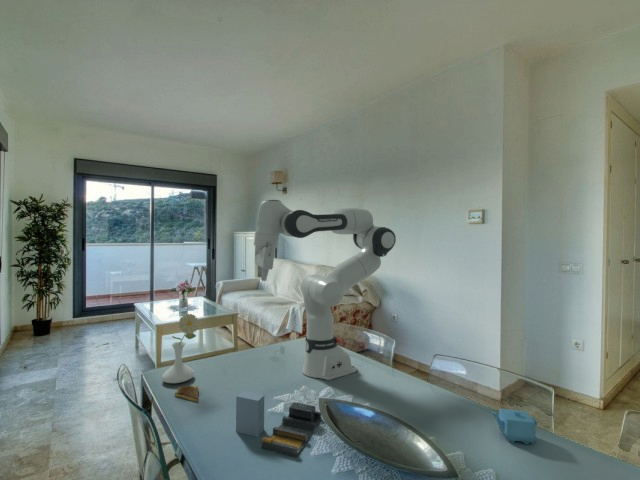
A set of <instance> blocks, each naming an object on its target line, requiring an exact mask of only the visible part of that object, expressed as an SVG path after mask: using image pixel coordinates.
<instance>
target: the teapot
mask: <svg viewBox="0 0 640 480" xmlns="http://www.w3.org/2000/svg"><path fill="white" fill-rule="evenodd" d="M490 413H491V414H493V416H494V417H495V420H496V424H497V425H498V428H499V430H500V431H501V433H502V435H503V436H504V438H505V440H507V441H508V442H510V443H512V444H514V443H515V442H522V443H523V444H524V445H530V443H533V444H536V427H537V426H538V422H537V419H535V418H534V417H533V416H531V415H530V414H529V413H528V412H527V411H525V410H520V409H519V410H518V409H517V410H516V409H509V408H499V409H498V413H499V414H498V413H497V412H495V411H490Z"/></svg>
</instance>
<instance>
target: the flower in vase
mask: <svg viewBox="0 0 640 480" xmlns="http://www.w3.org/2000/svg"><path fill="white" fill-rule="evenodd" d="M179 318H180V319H179V322H178V328H179V329H180V330H181V332H182V333H184V335H183V336H182V338H181V337H175V336H174V335H172V336H171V337H172V338H173V339H175V340H180V341H176V342H173V343H171V346H172V348H173V349H174V356H175V357H174V358H175V359H174V363H173V365H171V366H170V367H169V368H168V369H167V370H166V371H165V372H164V373H163V374H162V376H161V379H162V381H163V382H165V383H167V384H180V383H184V382H186V381H189V380H190V379H191V380H192V378H193V377H194V375H195V371H194V370H193V368H191V367H190V366H189V365H186V364H185V363H184V362H183V361H182V360H183V359H182V358H183V357H182V356H183V349H184V347H185V345H186V344H187V342H185V341H183V340H184V338H185V337H186V339H188V340H191V339H192V340H193V339H194V338H196V337H197V335H196V334H195V333H194V332H197V331H198V330H199V327H200V321H199V319H198V317H197V316H196V315H195V314H192V313H185V314H183V316H181V317H179Z"/></svg>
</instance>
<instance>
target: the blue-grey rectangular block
mask: <svg viewBox="0 0 640 480" xmlns="http://www.w3.org/2000/svg"><path fill="white" fill-rule="evenodd" d="M235 398H236V399H235V400H236V402H235V403H236V404H235V406H236V408H235V410H236V411H235V432H238V433H242V434H245V435H249V436H253V437H259V436H260V435H261V434H262V433H263V432H264V430H265V394H262V393H256V392H250V391H245V390H242V391H241V392H240V393H239V394H238V395H236V397H235Z"/></svg>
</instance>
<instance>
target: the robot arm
mask: <svg viewBox="0 0 640 480" xmlns="http://www.w3.org/2000/svg"><path fill="white" fill-rule="evenodd" d="M256 226H257V227H256V229H255V233H254V241H253V246H255V251H254V263H255V265H257V274H256V275H257V277H258V278H260V280H261V281H262V282H266V281H267V279H268V274H269V270H273V268H274V261H275V249H278V245H279V236H280V234H281V235H283V236H285V237H290V238H292V237H294V238H297V239H304V238H306V237H308V236H310V235H312V234H313V233H318V232H328V231H331V232H332V233H333V234H336V235H352V239H353V243H354V245H355V246H356V247H358V249H360V251H359V252H358V253H357V254H355V255H353V256H351V257H349V258H347V259H345V260H343V261H342V262H340V263H338V264H336V266H335V268H334V269H333V270H332V271H331V272H330V273H328V274H327V275H319V274H310V275H306V276H305V277H304V278H303V279H302V280H301V282H300V291H301V293H302V297H303V304H304V309H305V314H306V316H305V317H306V336H305V340H304V341H305V342H304V348H305V356H304V363H303V366H302V369H301V371H302V373H303V374H304V375H305V376H307V377H309V378H315V379H323V380H327V381H331V380H334V379H338V378H340V377H344V376H347V375H351V374H353V373H356V372H357V371H358V370H357V367H356V365H355V364H354V363H352V360H351V357H350V354H349V353H348V352H347V351H346V350H344V348H342V347H341V346H339V345H340V344H342V342H343V340H342V338H340V337H336V336H335V335H334V331H335V330H334V328H335V327H334V324H335V323H334V322H335V318H334V315H333V313H332V311H331V307H335V306H337V305H339V304H340V303H341V301H342V300H343V298H344V295H345V294H346V293H347V292H348V291H349V290H350V289H351V288H353V287H355V286H356V285H357V284H359V283H361V282H363V281H364V280H366V279H367V278H369V277H370V276H371V275H372V274H374V273H375V272H377V270H379V268H380V267H381V265H382V261H381V260H382V259H381V257H382V258H383V257H385V256H387V255H388V253H389V252H391V250H392V249H393V248H394V247H395V244H396V241H397V237H396V234H395V231H393V230H392V229H390V228H388V227H385V226H377V225H374V217H373V214H372V213H371V211H369V210H367V209H365V208H356V207H344V208H338V209H334V210H333V211H331V213H329V214H327V213H326V214H313V213H311V212H309V211H307V210H303V209H297V210H294V211H293V210H291V209H290V208H289V207H287V206H286V205H285V204H284V203H283V202H282V201H281V200H279V199H267V200H264V201H262V202H261V203H260V205H259V207H258V213H257V218H256Z"/></svg>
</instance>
